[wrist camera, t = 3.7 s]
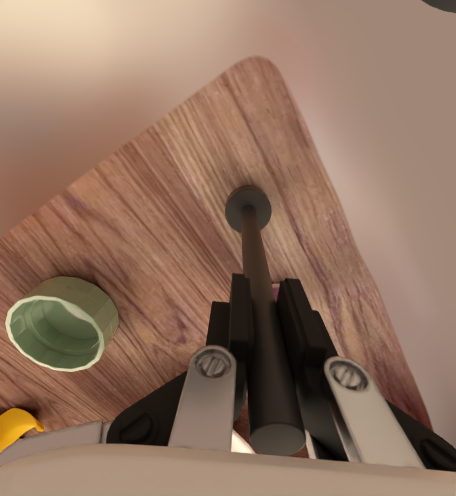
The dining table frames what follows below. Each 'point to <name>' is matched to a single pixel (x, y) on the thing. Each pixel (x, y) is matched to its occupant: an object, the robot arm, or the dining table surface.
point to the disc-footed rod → (265, 336)
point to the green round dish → (63, 324)
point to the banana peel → (16, 426)
